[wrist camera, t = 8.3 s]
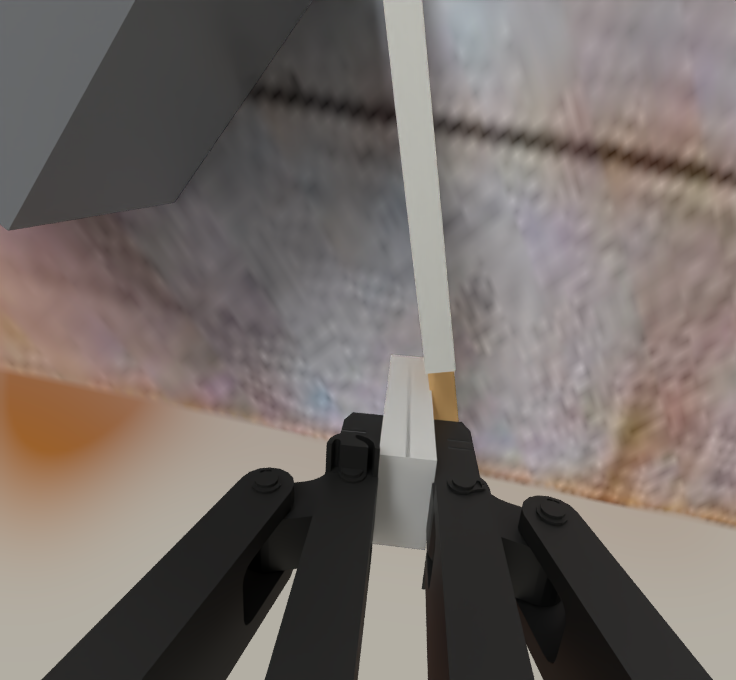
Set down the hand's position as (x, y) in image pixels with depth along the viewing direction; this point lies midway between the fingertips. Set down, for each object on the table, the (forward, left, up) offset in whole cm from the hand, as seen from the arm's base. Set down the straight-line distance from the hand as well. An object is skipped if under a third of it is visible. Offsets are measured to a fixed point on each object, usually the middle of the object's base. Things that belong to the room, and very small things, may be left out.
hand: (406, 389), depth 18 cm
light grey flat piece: (-5, -4, -2) cm, 7 cm away
